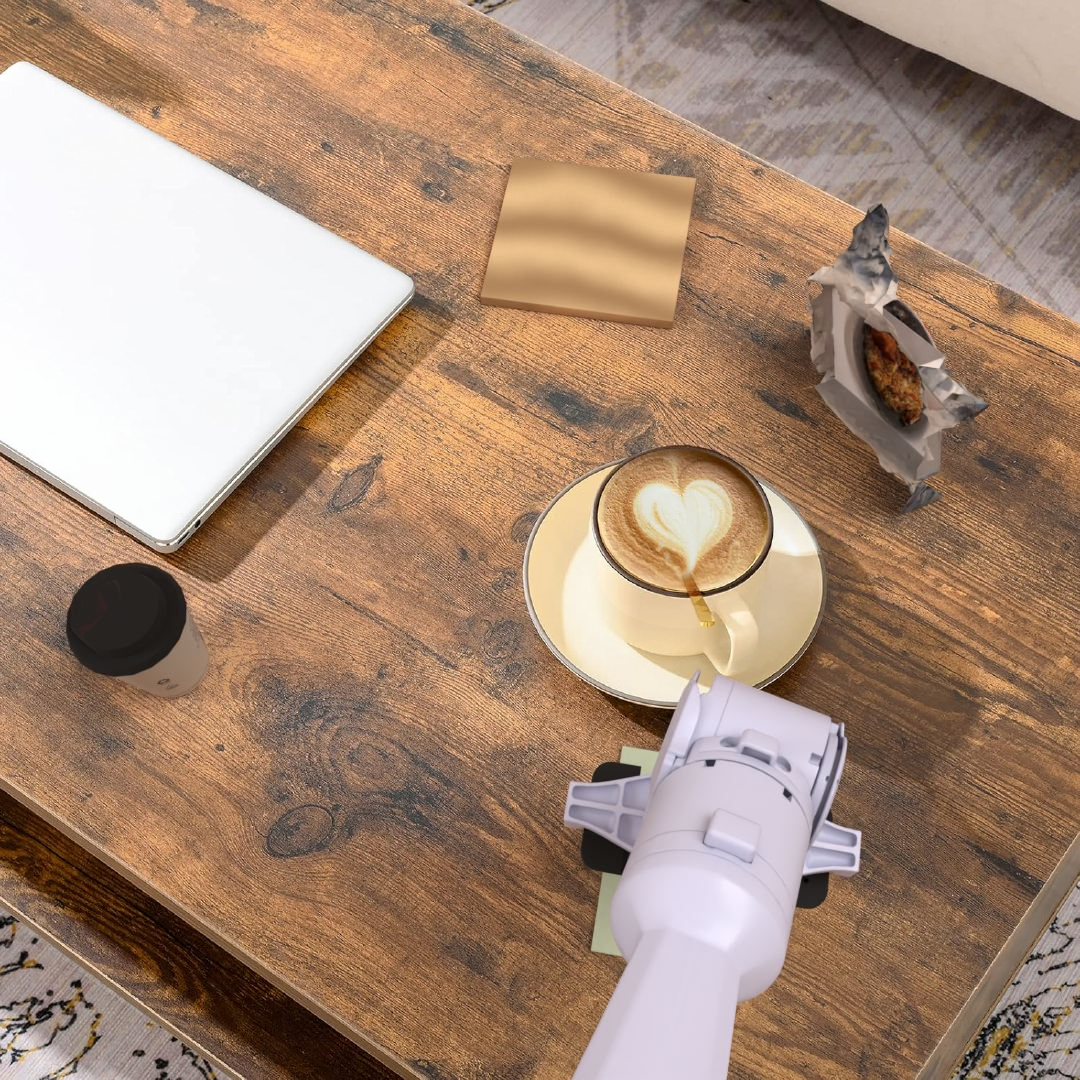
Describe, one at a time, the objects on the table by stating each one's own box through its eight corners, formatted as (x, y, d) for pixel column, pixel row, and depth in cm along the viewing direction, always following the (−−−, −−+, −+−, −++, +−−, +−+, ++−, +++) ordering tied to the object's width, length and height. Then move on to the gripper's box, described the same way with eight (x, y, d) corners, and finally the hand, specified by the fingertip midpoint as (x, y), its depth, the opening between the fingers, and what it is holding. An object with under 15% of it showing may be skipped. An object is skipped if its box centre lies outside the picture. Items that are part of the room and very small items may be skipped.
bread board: (672, 329, 83) (673, 321, 82) (481, 304, 84) (480, 296, 83) (695, 186, 88) (696, 177, 87) (514, 165, 89) (513, 156, 88)
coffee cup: (236, 614, 75) (189, 555, 66) (218, 719, 72) (165, 672, 63) (132, 609, 76) (70, 549, 66) (109, 713, 73) (41, 665, 64)
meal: (951, 494, 77) (1020, 392, 65) (895, 519, 76) (953, 420, 64) (837, 322, 83) (881, 199, 71) (784, 344, 82) (819, 224, 70)
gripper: (887, 750, 54) (830, 805, 66) (579, 699, 55) (580, 762, 68) (877, 905, 51) (819, 933, 64) (554, 847, 53) (559, 885, 65)
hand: (695, 853), depth 65 cm, fingers closed on toy figure, 7 cm apart
